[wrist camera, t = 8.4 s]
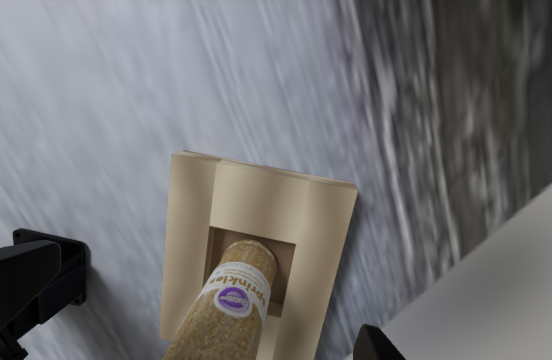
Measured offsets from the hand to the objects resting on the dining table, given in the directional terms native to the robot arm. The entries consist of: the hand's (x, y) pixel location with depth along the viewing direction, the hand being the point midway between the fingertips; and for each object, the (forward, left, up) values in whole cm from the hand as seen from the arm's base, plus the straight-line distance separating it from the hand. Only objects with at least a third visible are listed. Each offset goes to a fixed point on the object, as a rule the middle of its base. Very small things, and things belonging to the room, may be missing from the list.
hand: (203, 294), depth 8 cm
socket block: (0, -7, -13) cm, 15 cm away
